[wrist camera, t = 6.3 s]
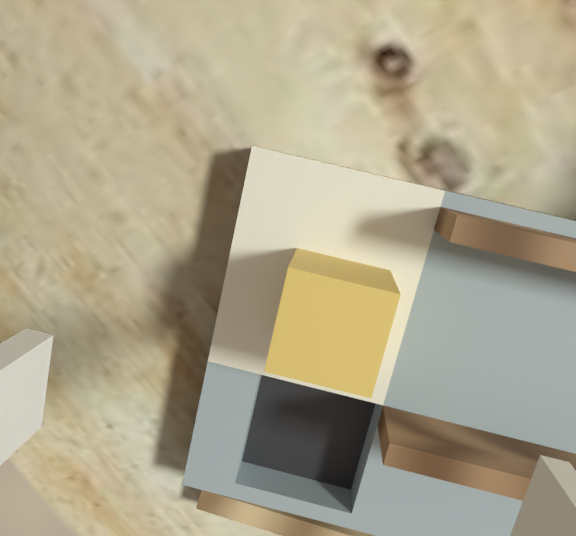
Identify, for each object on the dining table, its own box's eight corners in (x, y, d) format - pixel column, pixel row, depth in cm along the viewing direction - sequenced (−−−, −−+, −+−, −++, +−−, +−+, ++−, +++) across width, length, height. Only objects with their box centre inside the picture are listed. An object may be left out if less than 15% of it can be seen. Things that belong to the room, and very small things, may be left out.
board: (193, 461, 34) (182, 484, 32) (258, 146, 30) (251, 145, 28) (633, 575, 33) (656, 609, 31) (769, 265, 29) (808, 275, 26)
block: (276, 335, 30) (264, 371, 25) (296, 247, 28) (288, 267, 24) (366, 357, 29) (371, 398, 24) (390, 270, 28) (400, 294, 23)
